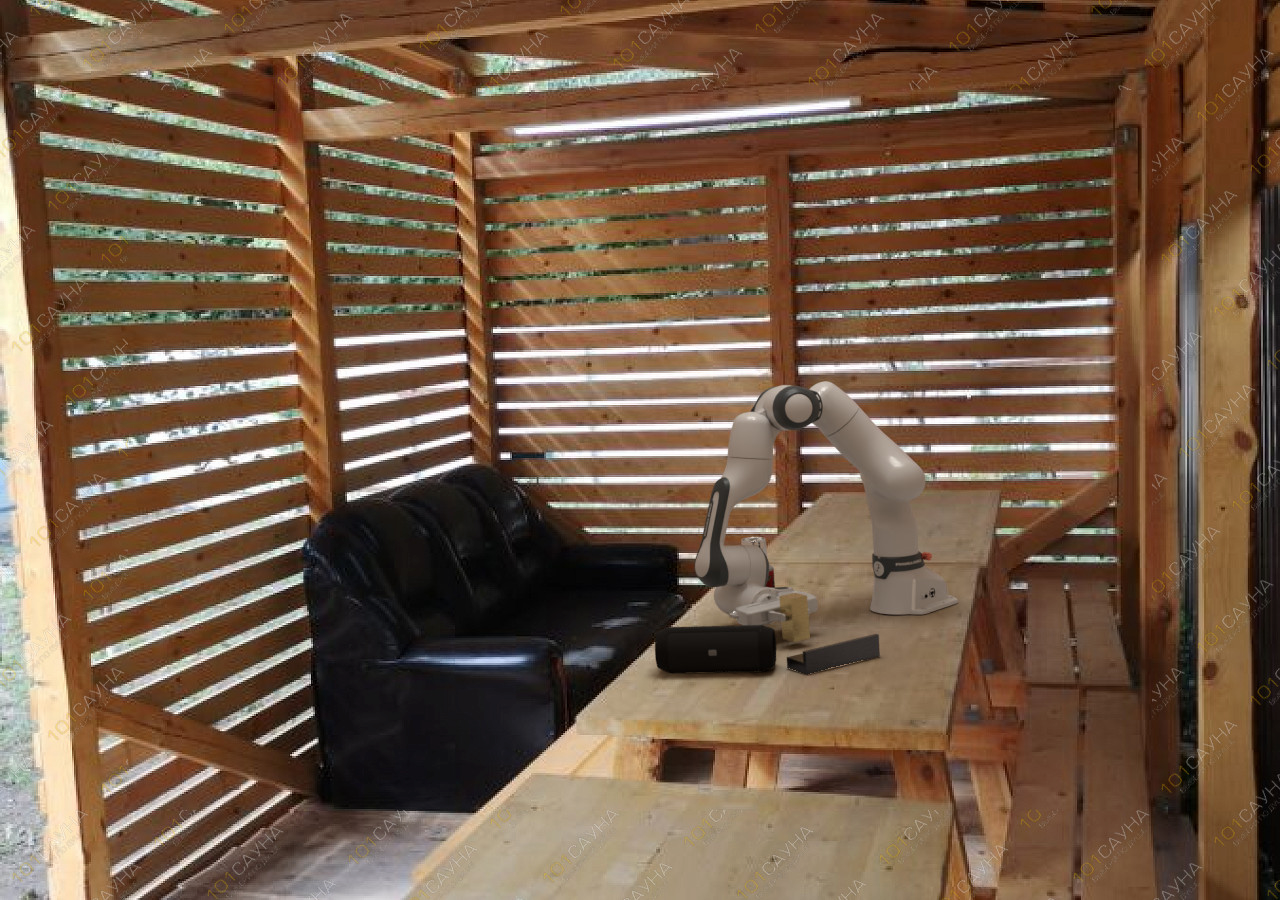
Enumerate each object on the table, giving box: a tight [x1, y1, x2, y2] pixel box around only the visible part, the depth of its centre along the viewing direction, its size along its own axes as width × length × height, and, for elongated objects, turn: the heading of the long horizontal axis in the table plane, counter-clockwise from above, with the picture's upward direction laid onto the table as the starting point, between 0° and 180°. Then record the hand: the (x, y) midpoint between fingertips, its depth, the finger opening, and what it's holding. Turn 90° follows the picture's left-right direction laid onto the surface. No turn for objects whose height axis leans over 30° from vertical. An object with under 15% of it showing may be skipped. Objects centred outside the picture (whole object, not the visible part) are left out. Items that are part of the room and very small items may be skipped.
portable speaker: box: [654, 624, 777, 674], centre depth 294 cm, size 26×10×10 cm, turn 79°
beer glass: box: [740, 536, 768, 557], centre depth 366 cm, size 7×7×15 cm
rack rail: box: [786, 633, 881, 676], centre depth 294 cm, size 7×20×5 cm, turn 120°
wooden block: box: [779, 593, 811, 643], centre depth 309 cm, size 4×4×10 cm
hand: (796, 615), depth 308 cm, fingers closed on wooden block, 4 cm apart
